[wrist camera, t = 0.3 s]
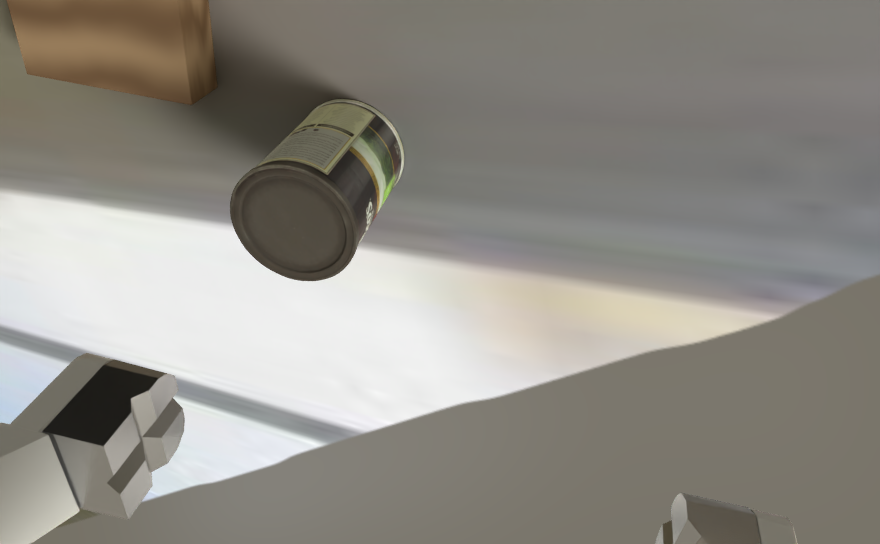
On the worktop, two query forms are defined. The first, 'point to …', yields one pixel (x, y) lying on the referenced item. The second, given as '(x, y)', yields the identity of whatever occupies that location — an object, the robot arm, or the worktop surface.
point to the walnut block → (120, 45)
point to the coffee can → (318, 191)
